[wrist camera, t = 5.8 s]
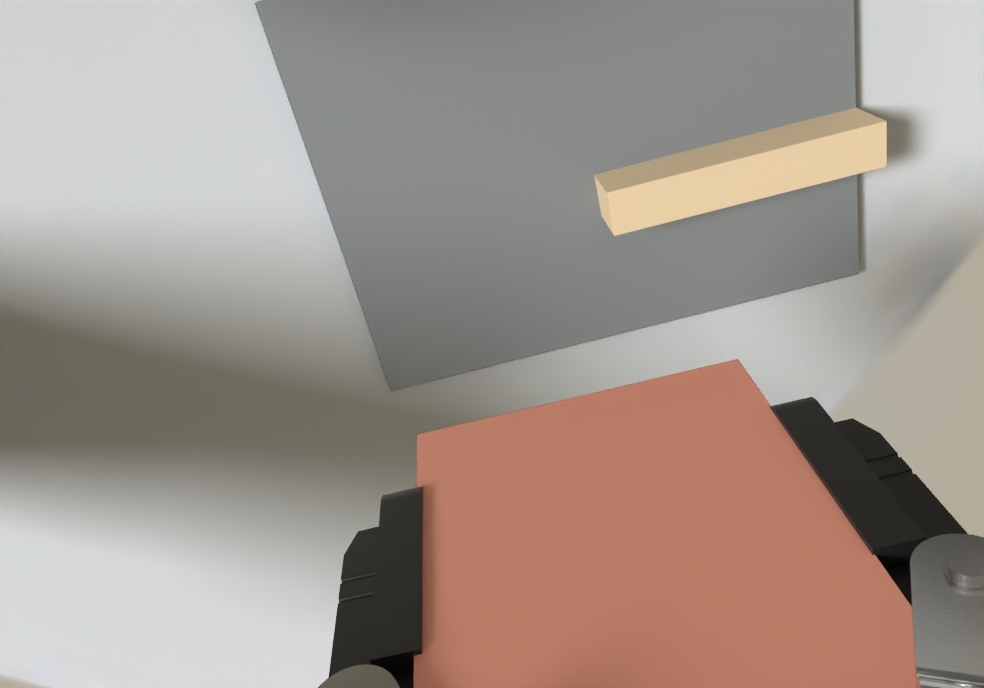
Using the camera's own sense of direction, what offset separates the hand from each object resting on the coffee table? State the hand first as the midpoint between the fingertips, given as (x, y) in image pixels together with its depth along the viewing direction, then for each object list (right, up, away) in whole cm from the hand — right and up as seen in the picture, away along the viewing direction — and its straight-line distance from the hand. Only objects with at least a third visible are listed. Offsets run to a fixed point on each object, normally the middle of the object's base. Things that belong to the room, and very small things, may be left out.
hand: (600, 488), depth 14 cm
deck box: (0, +1, +1) cm, 1 cm away
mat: (+1, +9, +14) cm, 16 cm away
